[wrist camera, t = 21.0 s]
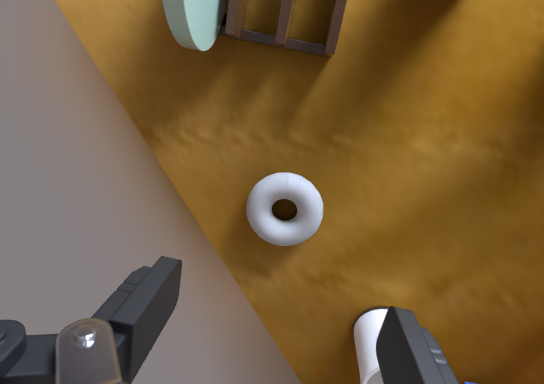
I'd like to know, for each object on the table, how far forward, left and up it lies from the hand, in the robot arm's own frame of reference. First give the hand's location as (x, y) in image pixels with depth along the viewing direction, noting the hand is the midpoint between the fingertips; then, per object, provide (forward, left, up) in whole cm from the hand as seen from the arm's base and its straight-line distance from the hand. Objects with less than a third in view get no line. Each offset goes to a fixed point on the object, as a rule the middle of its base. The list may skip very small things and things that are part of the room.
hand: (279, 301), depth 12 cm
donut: (+6, +5, -30) cm, 31 cm away
